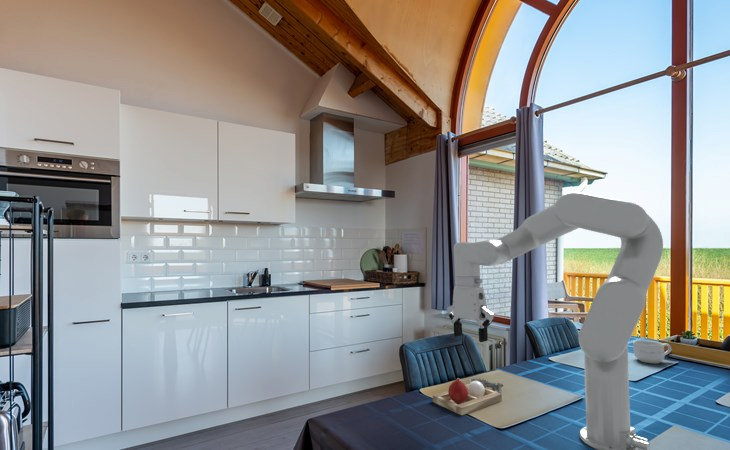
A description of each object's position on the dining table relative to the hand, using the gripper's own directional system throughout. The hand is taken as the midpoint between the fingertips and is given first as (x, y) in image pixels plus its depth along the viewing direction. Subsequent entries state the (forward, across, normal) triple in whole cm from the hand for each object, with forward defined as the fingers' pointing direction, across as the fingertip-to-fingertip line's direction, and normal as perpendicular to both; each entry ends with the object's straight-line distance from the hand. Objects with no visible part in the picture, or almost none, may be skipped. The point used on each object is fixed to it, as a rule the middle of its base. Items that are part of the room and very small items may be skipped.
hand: (470, 338), depth 121 cm
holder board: (+21, +3, -1) cm, 21 cm away
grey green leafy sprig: (+22, +7, -14) cm, 27 cm away
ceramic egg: (+20, +3, -5) cm, 21 cm away
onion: (+20, +3, +3) cm, 21 cm away
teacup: (+23, -13, -97) cm, 100 cm away
